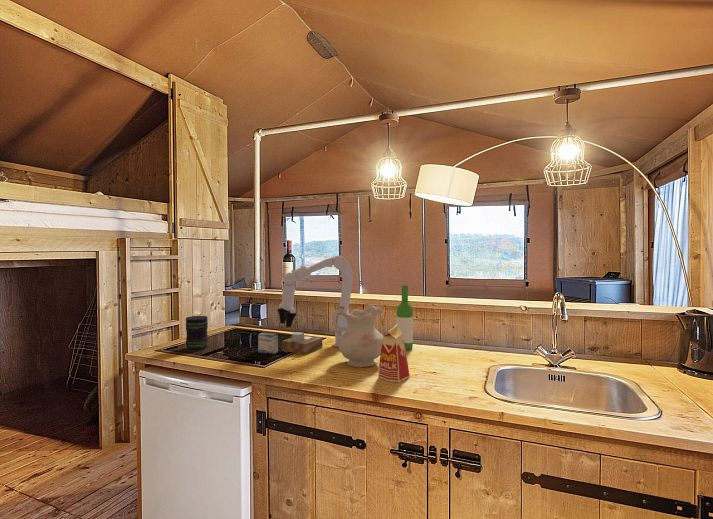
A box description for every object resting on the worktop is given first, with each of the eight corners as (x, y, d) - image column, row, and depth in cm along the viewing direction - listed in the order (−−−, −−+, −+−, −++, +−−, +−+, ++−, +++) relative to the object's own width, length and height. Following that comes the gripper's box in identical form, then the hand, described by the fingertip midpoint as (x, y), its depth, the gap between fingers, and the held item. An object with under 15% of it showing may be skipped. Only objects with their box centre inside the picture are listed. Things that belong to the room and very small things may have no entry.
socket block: (322, 348, 194) (322, 337, 193) (305, 355, 181) (305, 344, 181) (300, 344, 200) (300, 334, 199) (282, 351, 187) (282, 340, 187)
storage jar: (185, 347, 195) (185, 316, 194) (207, 345, 199) (206, 315, 198) (186, 352, 186) (185, 320, 185) (209, 350, 190) (208, 318, 189)
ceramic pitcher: (347, 376, 155) (351, 313, 152) (323, 360, 171) (325, 302, 169) (392, 367, 167) (395, 308, 164) (365, 353, 183) (368, 299, 181)
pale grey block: (304, 343, 188) (304, 332, 188) (298, 345, 184) (298, 334, 184) (297, 342, 190) (297, 332, 190) (291, 344, 186) (291, 333, 186)
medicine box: (258, 352, 185) (257, 334, 185) (263, 350, 189) (262, 332, 189) (273, 354, 183) (273, 335, 182) (278, 351, 187) (278, 333, 187)
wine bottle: (395, 346, 197) (396, 284, 196) (411, 346, 197) (412, 285, 196) (396, 350, 189) (397, 286, 188) (413, 350, 189) (413, 286, 188)
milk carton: (390, 372, 157) (390, 321, 156) (410, 377, 151) (411, 324, 150) (376, 378, 150) (376, 325, 149) (397, 384, 144) (397, 328, 143)
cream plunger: (312, 347, 194) (312, 337, 194) (308, 349, 191) (308, 339, 191) (306, 346, 196) (305, 336, 196) (301, 348, 193) (301, 338, 193)
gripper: (274, 294, 199) (272, 322, 200) (286, 299, 187) (283, 328, 188) (288, 295, 203) (285, 321, 204) (300, 299, 191) (297, 328, 191)
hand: (285, 325), depth 196 cm, fingers open, 7 cm apart
